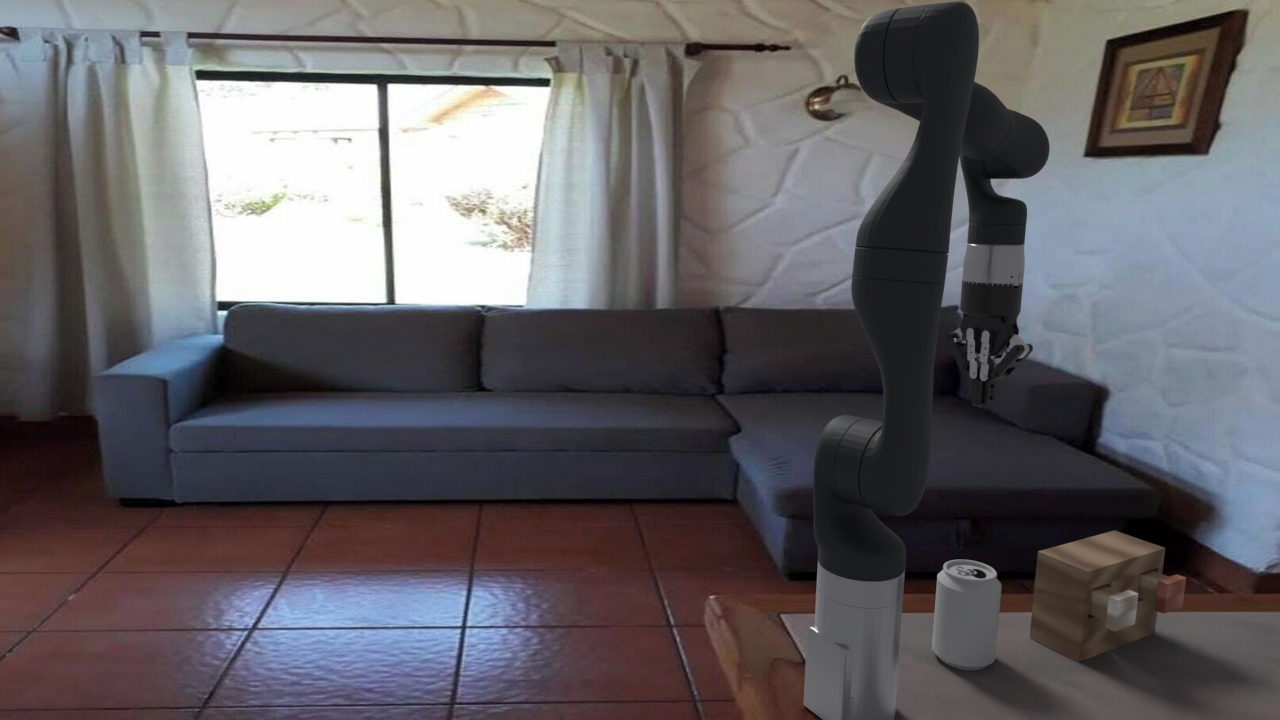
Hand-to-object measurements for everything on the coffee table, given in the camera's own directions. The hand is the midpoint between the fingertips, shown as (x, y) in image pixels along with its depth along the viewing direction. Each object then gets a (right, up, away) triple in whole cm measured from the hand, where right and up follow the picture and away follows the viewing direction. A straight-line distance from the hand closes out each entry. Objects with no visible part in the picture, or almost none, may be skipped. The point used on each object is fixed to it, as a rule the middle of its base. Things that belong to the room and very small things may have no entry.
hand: (981, 406), depth 118 cm
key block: (+13, -30, -3) cm, 33 cm away
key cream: (+10, -26, -9) cm, 29 cm away
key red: (+19, -25, -4) cm, 31 cm away
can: (-6, -31, -9) cm, 33 cm away
